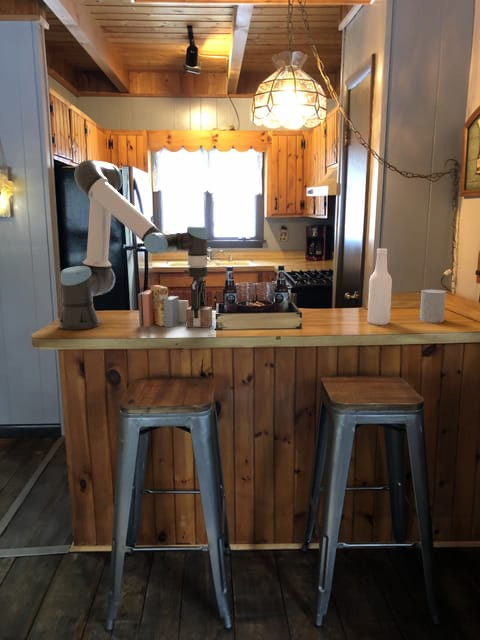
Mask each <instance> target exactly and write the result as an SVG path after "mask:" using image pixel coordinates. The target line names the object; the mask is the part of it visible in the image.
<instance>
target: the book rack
mask: <svg viewBox="0 0 480 640" xmlns="http://www.w3.org/2000/svg"><path fill="white" fill-rule="evenodd" d="M148 291H151V290H150V289H147V290H145V291H142V292H141V293H137V298H138V300H137V301H138V302H137V303H138V320H139V324H138V325H139V327H144V323H143V301H142V294H143V293H146V292H148ZM187 308H189V300H188V299H187V300H185V299H184V300H183V299H181V300H180V299H179V323H186V309H187Z"/></svg>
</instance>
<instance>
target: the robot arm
mask: <svg viewBox="0 0 480 640" xmlns="http://www.w3.org/2000/svg"><path fill="white" fill-rule="evenodd" d="M73 175H74V181H75V183H76V185H77V187H78V188H79V189H80V190H81V191H82V192H83V193H84V194H85V195H86V196H87V197H88V198H89V200H90V201H89V215H88V216H89V217H88V234H87V246H86V247H87V250H86V258H85V259H84V260H83V261H82V265H76V266H75V265H74V266H71V267H67V268H64V269H62V270H61V271H60V280H59V282H60V288H61V291H60V292H61V299H62V300H61V302H62V311H61V314H60V319H59V322H58V323H59V324H58V325H59V328H60V329H62V330H68V331H79V330H88V329H93V328H96V327H99V326H100V322H99V321H100V319H99V317H98V315H97V312H96V310H95V309H96V308H94V307H95V306H94V299H93V298H94V297H96V296H100V295H105V294H106V293H108V292H110V291H111V290H112V289H114V286H115V283H116V275H115V272H114V270H113V269H112V263H111V262H110V261H109V251H110V238H111V237H110V236H111V226H112V224H111V223H112V222H111V221H112V216H114V217H115V218H116V219H117V220H118V221H119V222H120V223H122V224H123V225H124V226H125V227H126V228H127V229H128V230H129V231H130V232H131V233H132V234H134V235H135V236H136V237H137V238H138V239H139V240H140V241H141V242H142V243H143V245H144V249H145V250H146V251H147V252H148V253H150V254H154V255H155V254H156V255H161V254H163V253H164V254H165V253H169V252H174V251H175V252H187V266H189V267H188V268H187V269H188V270H187V271H188V273H187V274H188V277H189V278H192V282H191V283H190V306H191V310H193V326H201V325H200V310H199V307H208V306H207V305H208V304H207V291H206V283H207V282H206V279H204V278H206V277H208V276H209V275H208V274H209V273H208V267H207V266H208V261H209V260H210V259H209V257H208V234H207V228H206V227H205V226H201V225H198V226H188V227H187V228H186V230H185V231H176V230H175V231H173V230H166V231H162V230H161V229H159V228H158V226H156V225H155V224H154V223H153V222H152V221H150V219H149V218H147V217H146V216H145V215H144V214H143V213H142V212H141V211H139V209H137V208H136V207H135V205H133V204H132V203H130V201H128V200H127V199H126V198H125V197H124V196H123V195H122V194H121V193H120V192H118V191H119V190H120V189H122V185H123V182H124V181H123V175H122V172H121V170H120V169H119V168H118V167H117V166H116V165H114V164H112V163H110V162H107V161H99V160H93V159H85V160H82V161H81V162H80V163H78V164H77V166H76V167H75V170H74V174H73Z"/></svg>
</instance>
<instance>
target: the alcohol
mask: <svg viewBox="0 0 480 640" xmlns="http://www.w3.org/2000/svg"><path fill="white" fill-rule="evenodd" d="M375 261H376V262H375V268H374V271H373V273H372V274H371V275H370V277H369V280H368V301H367V302H368V303H367V319H366V320H367V322H368V324H371V325H376V326H379V325H380V326H384V325H385V326H386V325H389V323H390V321H391V307H392V306H391V304H392V303H391V302H392V288H393V287H392V286H393V281H392V280H393V279H392V276H391V275H390V272H388V248H383V247H381V248H377V249H376V260H375Z"/></svg>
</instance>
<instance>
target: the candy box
mask: <svg viewBox="0 0 480 640" xmlns="http://www.w3.org/2000/svg"><path fill="white" fill-rule="evenodd" d="M149 288H150V289H149V290H151V292H152V296H153V316H154V324H155V325H158V326H161V327H162V326H164V327H165V321H164V299H168V297H169V288H168V286H163V285H160V284H156V285H150V286H149Z"/></svg>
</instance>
